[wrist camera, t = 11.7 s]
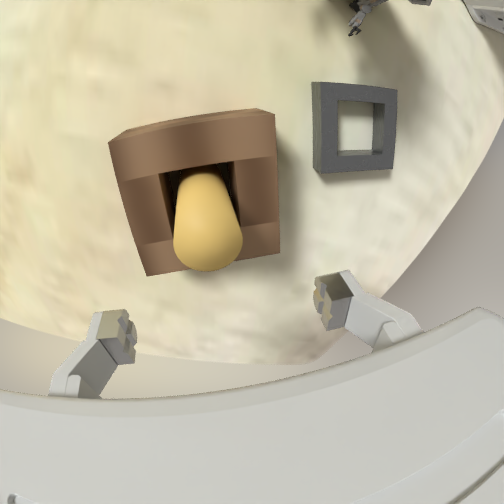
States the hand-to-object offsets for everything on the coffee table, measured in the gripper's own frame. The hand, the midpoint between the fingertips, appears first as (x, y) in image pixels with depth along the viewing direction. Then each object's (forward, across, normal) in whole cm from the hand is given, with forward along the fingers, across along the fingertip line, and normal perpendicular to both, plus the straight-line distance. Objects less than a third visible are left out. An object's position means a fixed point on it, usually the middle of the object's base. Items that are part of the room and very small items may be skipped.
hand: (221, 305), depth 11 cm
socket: (+17, +1, 0) cm, 17 cm away
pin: (+17, 0, 0) cm, 17 cm away
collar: (+18, -15, -4) cm, 24 cm away
